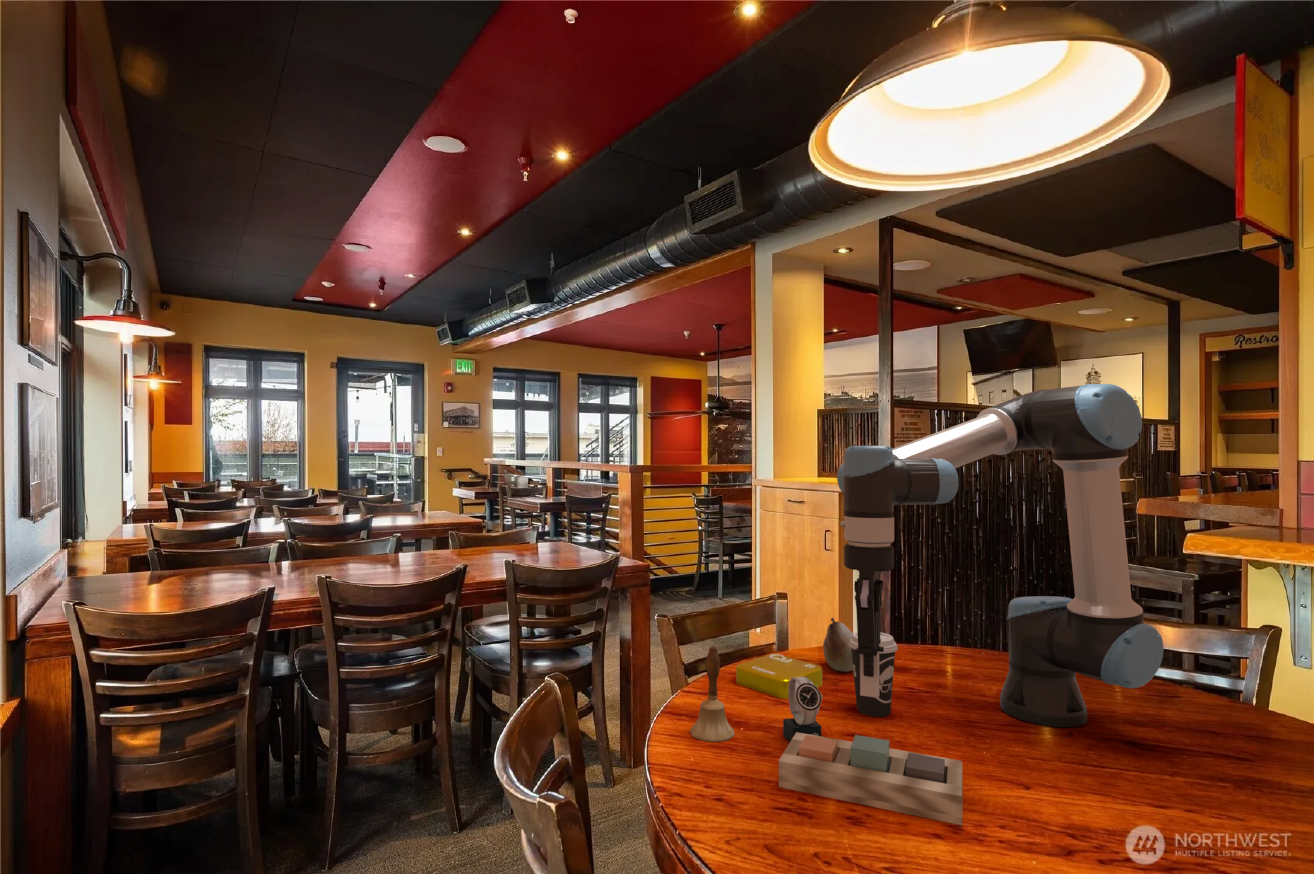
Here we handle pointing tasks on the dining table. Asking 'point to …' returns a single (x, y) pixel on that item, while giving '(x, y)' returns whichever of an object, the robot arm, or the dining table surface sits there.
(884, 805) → the button panel
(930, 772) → the charcoal button
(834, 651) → the fruit
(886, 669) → the coffee cup
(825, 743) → the terracotta button
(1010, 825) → the dining table surface
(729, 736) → the hand bell
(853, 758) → the teal button
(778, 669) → the element tile
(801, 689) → the watch
